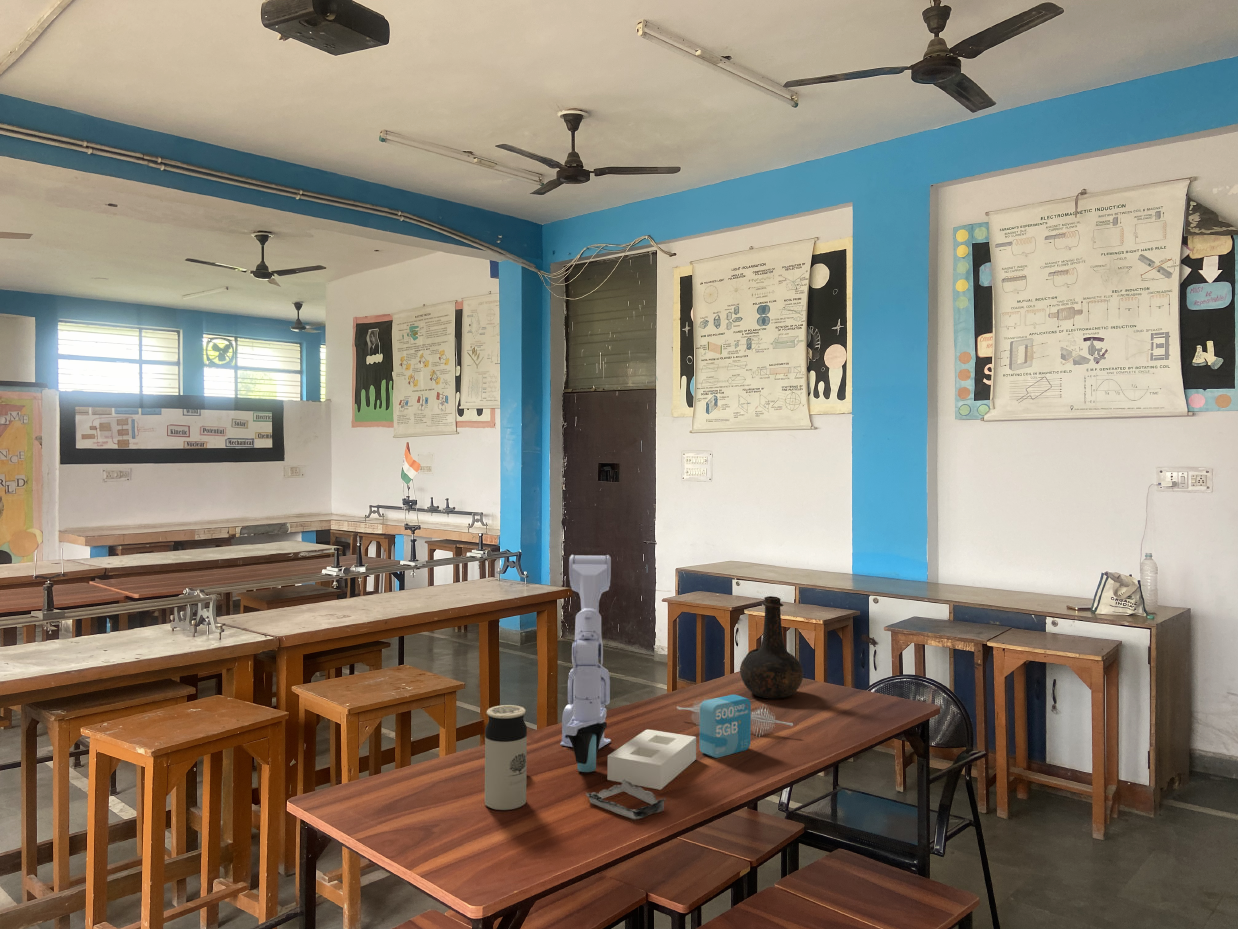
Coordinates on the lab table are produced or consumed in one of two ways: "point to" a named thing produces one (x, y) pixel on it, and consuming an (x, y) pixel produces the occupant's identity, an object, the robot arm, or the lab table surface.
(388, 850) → the lab table surface
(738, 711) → the data package
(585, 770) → the pin
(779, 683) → the glass bottle
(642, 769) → the hole board
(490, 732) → the travel mug
